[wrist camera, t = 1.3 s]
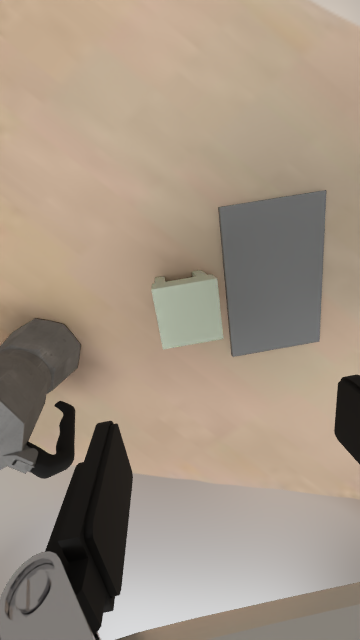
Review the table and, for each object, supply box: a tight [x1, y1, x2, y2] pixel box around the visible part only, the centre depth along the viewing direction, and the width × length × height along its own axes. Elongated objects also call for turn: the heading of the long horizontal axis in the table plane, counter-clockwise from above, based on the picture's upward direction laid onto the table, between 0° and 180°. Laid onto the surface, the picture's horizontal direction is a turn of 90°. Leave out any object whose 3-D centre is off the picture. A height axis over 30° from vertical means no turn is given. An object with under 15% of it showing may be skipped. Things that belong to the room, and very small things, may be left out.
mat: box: [218, 190, 326, 357], centre depth 32 cm, size 13×20×1 cm, turn 9°
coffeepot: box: [0, 318, 81, 478], centre depth 25 cm, size 15×9×18 cm, turn 53°
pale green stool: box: [151, 270, 223, 349], centre depth 28 cm, size 6×6×8 cm
